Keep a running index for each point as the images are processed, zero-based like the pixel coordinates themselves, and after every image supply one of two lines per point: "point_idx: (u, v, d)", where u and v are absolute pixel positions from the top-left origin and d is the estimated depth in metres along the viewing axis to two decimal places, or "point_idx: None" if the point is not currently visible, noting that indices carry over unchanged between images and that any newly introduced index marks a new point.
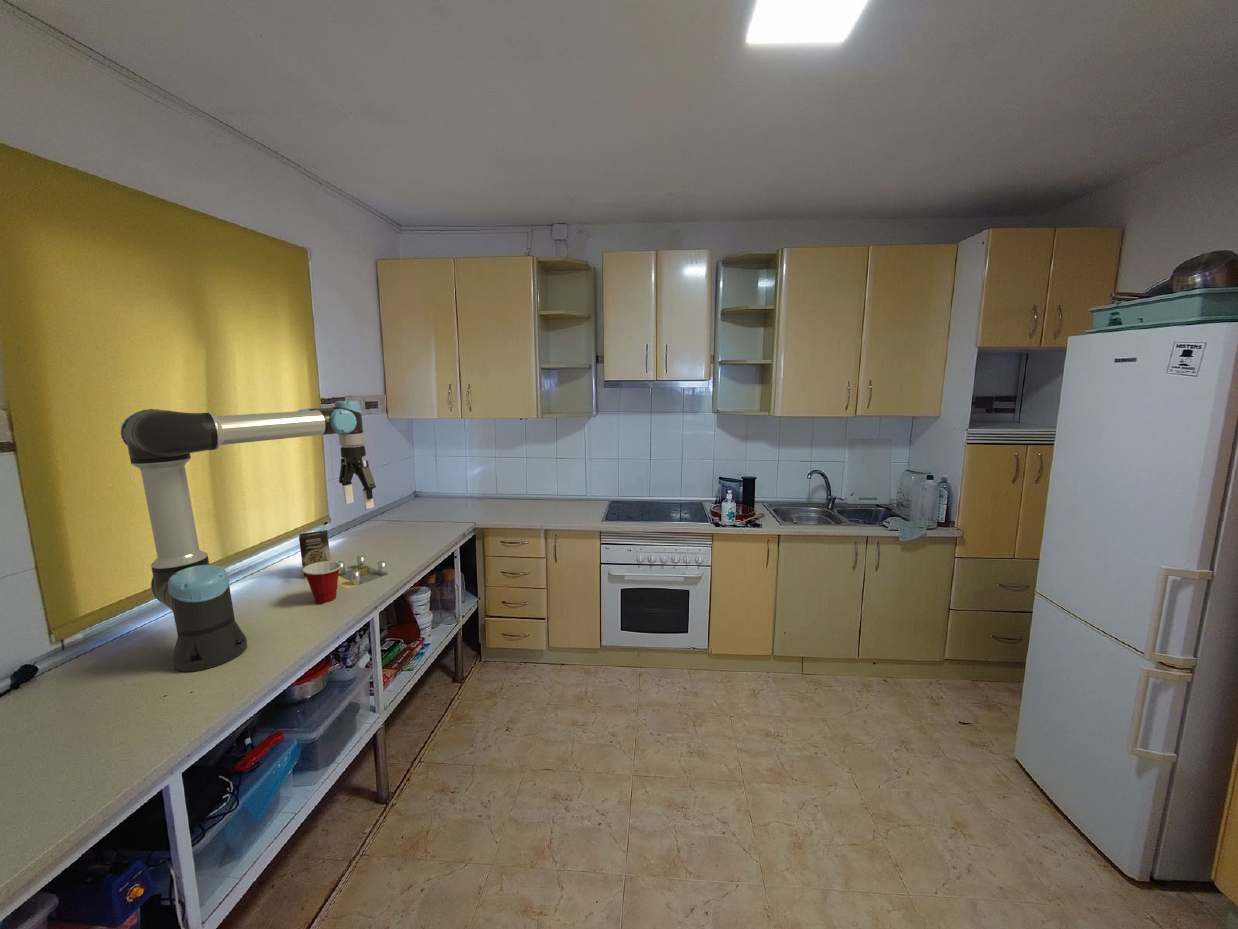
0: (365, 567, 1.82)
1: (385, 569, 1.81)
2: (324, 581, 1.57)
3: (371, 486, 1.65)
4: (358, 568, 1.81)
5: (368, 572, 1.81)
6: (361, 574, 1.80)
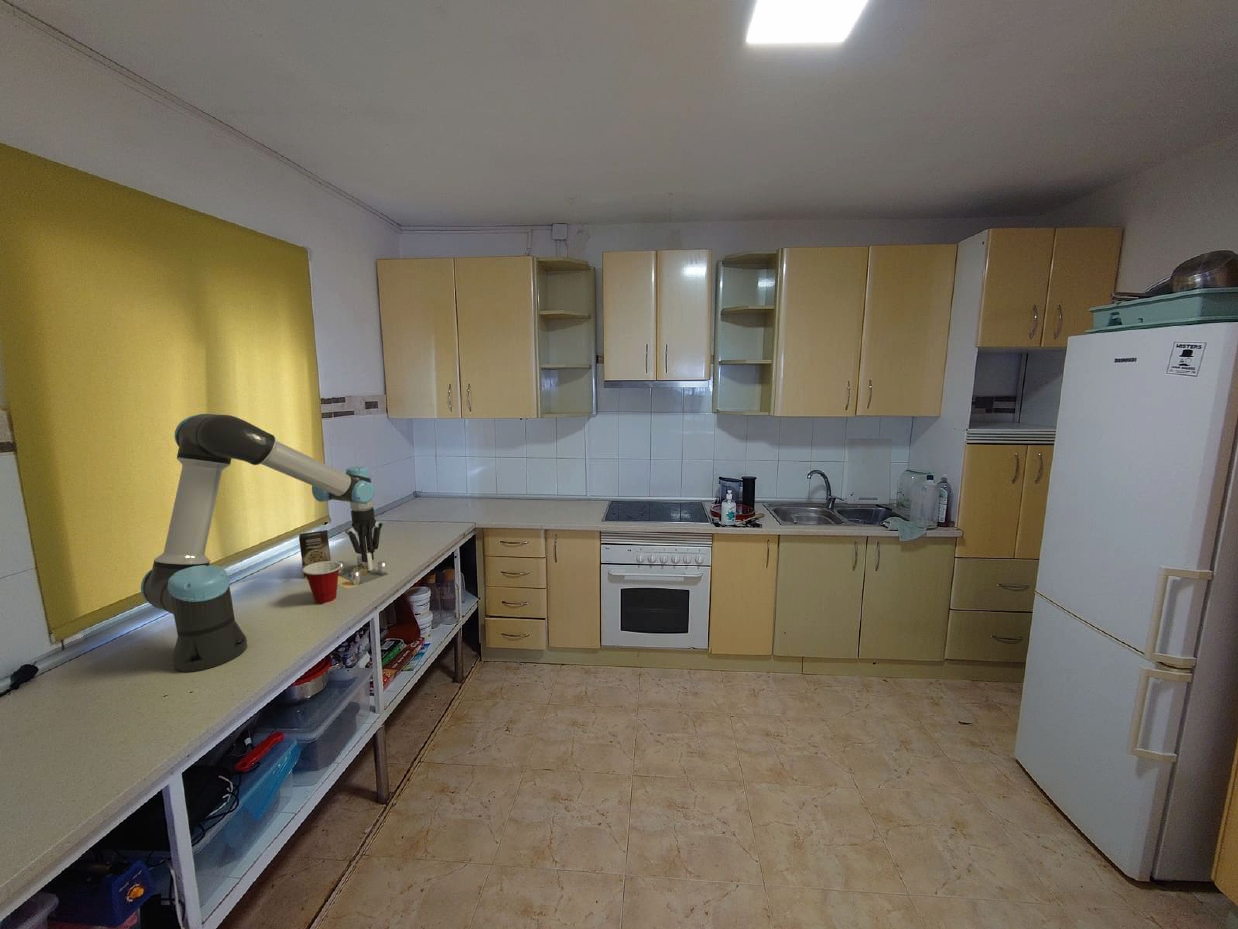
0: (363, 568, 1.81)
1: (385, 569, 1.81)
2: (324, 581, 1.57)
3: (356, 551, 1.80)
4: (356, 569, 1.80)
5: (366, 573, 1.81)
6: None
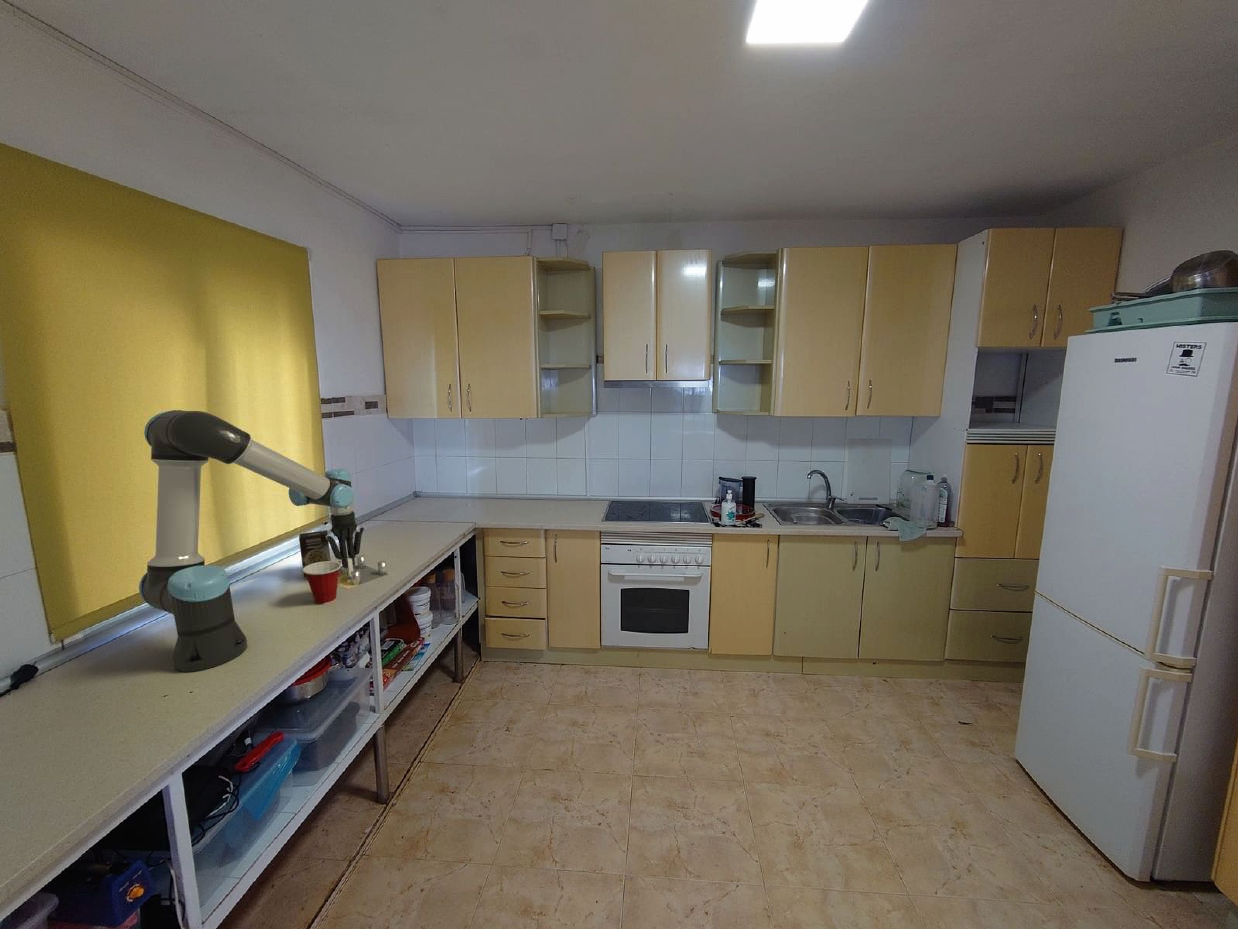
0: (343, 574, 1.75)
1: (385, 569, 1.81)
2: (324, 581, 1.57)
3: (336, 557, 1.74)
4: None
5: (346, 579, 1.75)
6: (338, 582, 1.73)
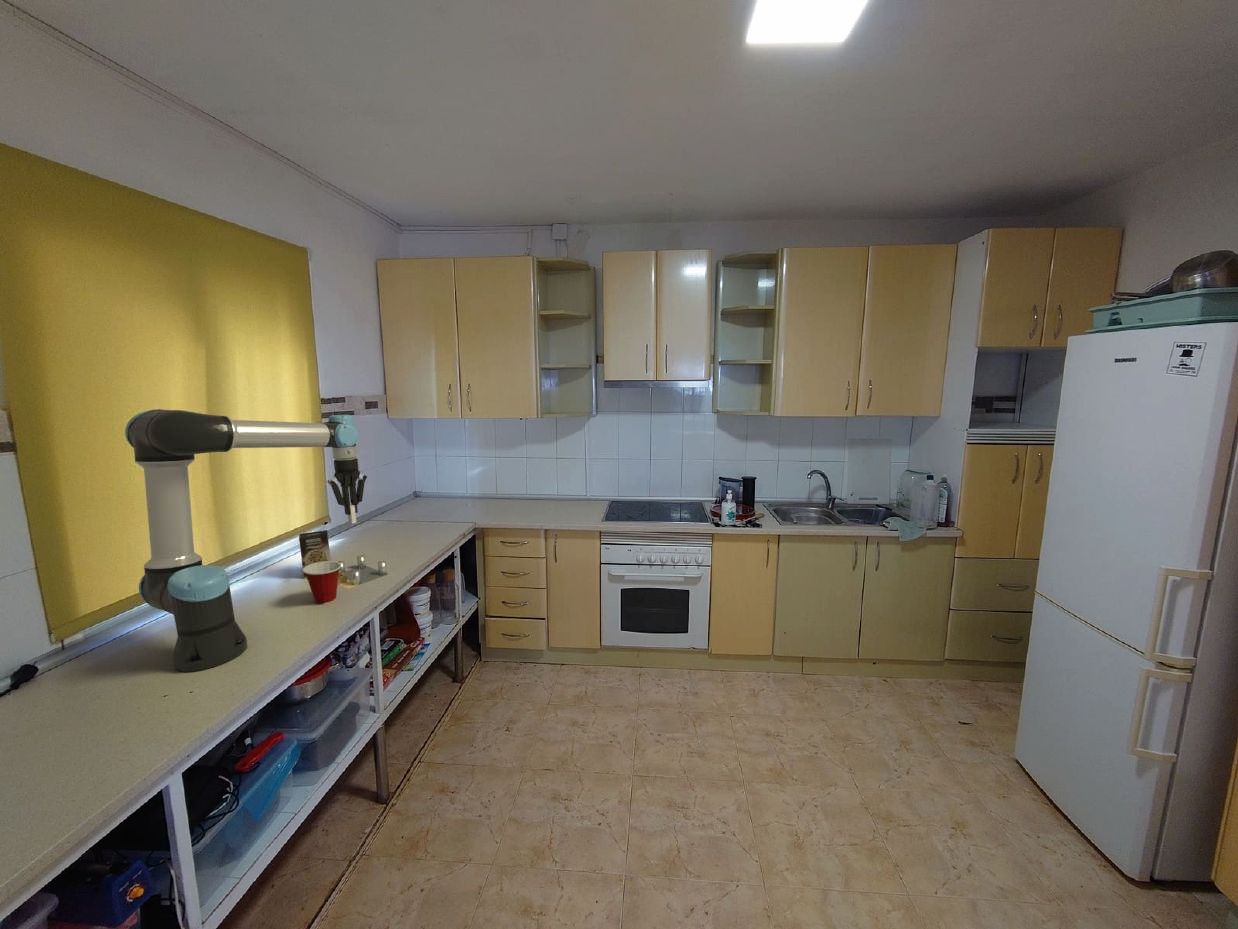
0: (342, 574, 1.75)
1: (385, 569, 1.81)
2: (324, 581, 1.57)
3: (339, 503, 1.74)
4: None
5: (345, 580, 1.75)
6: (338, 582, 1.73)
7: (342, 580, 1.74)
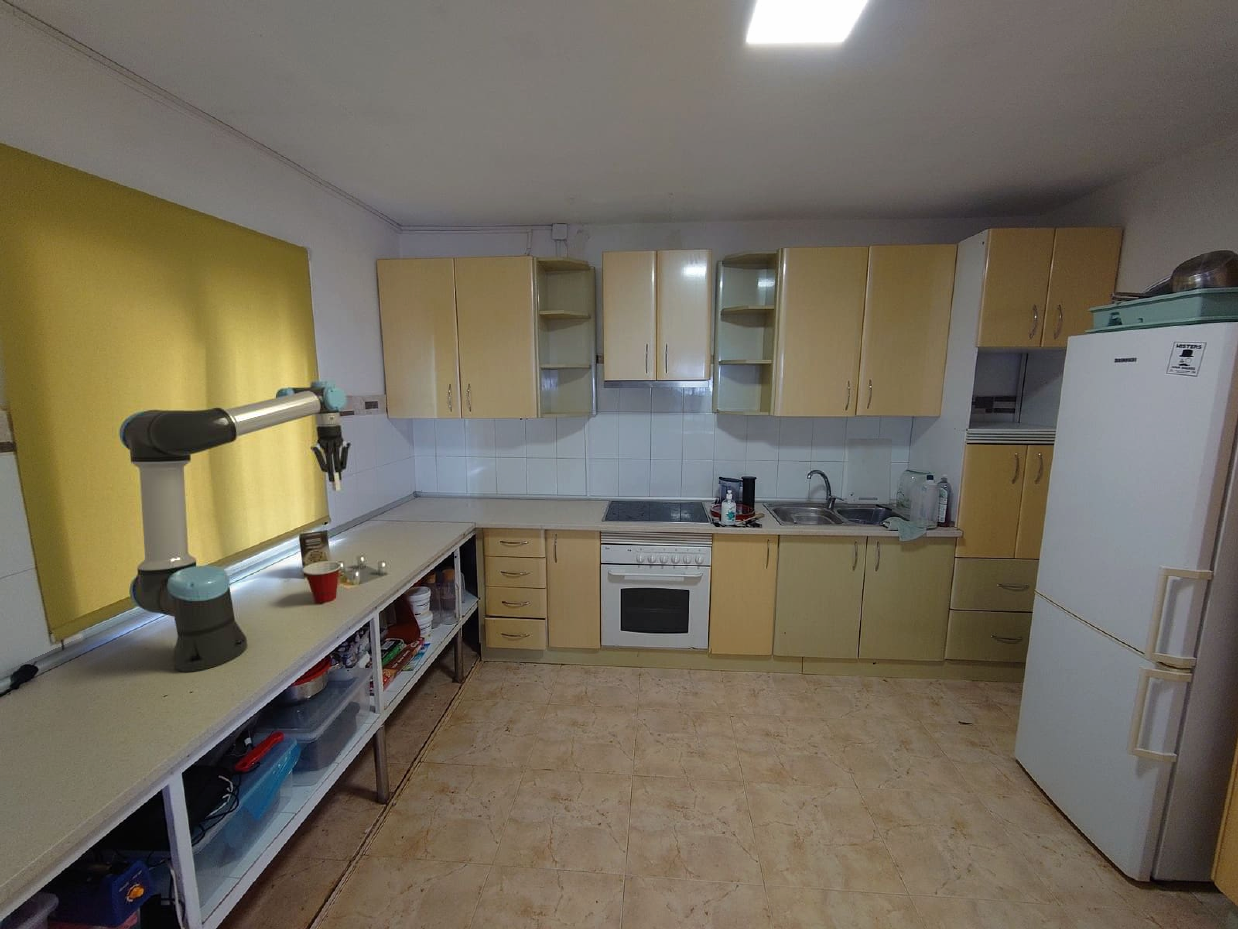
0: (342, 574, 1.75)
1: (385, 569, 1.81)
2: (324, 581, 1.57)
3: (323, 469, 1.73)
4: None
5: (345, 580, 1.75)
6: (338, 582, 1.73)
7: (342, 580, 1.74)
